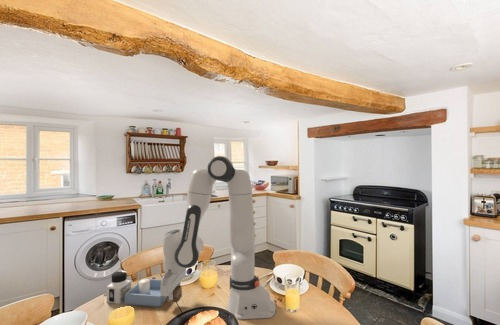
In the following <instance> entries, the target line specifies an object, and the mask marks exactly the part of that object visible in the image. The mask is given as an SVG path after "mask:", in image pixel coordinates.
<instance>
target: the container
mask: <svg viewBox="0 0 500 325" xmlns="http://www.w3.org/2000/svg"><path fill="white" fill-rule="evenodd" d="M127 275H128V273H127V271H126V270H117V271H115V272H113V273H112V274H111V283H110V284H108V285H107V286H106V303H111V304H116V305H120V304H122V303H123V302H125V293H127V292H128V291H129V290H130V289H131V288H132V280H128V279H127V278H128V276H127Z"/></svg>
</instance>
